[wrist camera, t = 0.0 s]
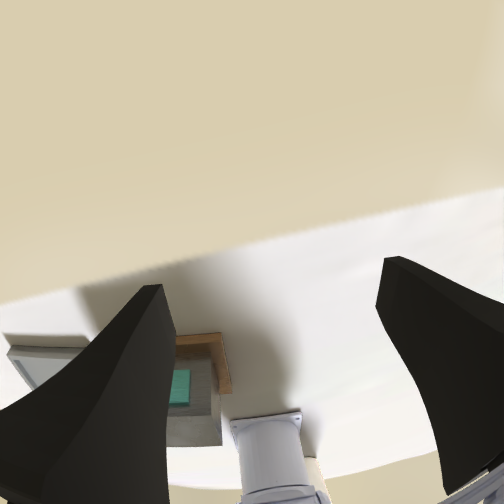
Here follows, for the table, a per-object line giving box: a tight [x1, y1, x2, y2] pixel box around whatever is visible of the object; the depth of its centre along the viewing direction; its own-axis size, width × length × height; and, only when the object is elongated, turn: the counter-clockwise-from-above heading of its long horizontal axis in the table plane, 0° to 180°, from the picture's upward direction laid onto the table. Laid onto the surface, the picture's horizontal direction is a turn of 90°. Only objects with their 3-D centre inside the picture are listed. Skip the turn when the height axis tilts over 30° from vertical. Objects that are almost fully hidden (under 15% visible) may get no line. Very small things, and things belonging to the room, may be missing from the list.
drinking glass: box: [304, 457, 333, 504], centre depth 32 cm, size 7×7×15 cm
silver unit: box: [166, 333, 232, 447], centre depth 21 cm, size 7×10×7 cm
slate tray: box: [7, 345, 85, 391], centre depth 25 cm, size 11×11×2 cm
